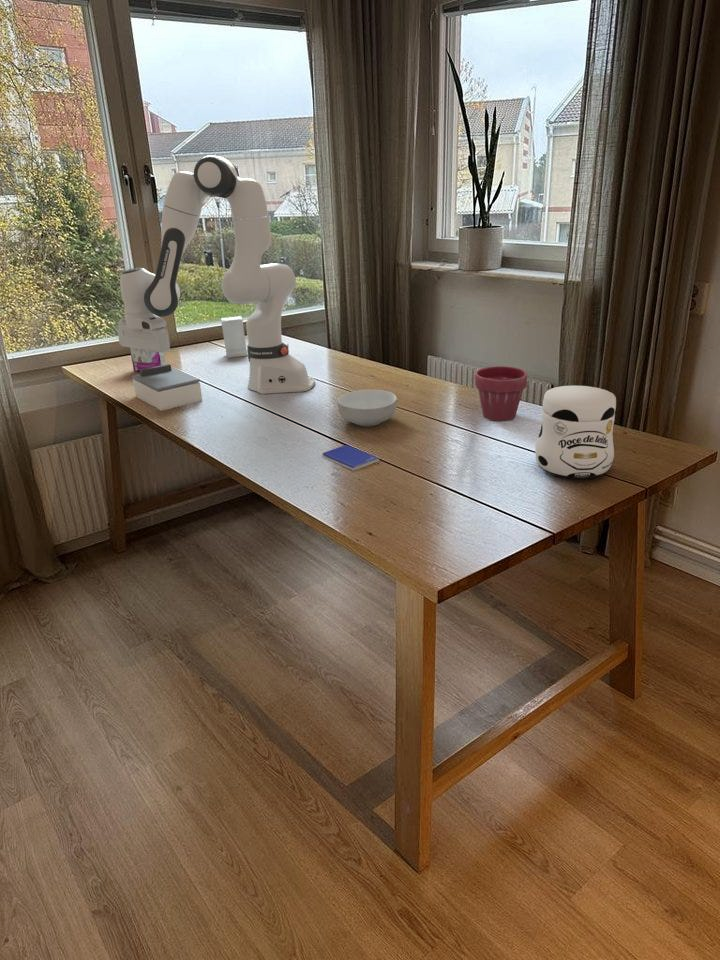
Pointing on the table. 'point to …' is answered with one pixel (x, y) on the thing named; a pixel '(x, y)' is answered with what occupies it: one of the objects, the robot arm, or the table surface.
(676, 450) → the table surface
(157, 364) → the candy bar box
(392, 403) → the cereal bowl
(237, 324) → the skincare box
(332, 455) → the blue book
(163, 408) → the base
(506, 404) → the plant pot
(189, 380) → the grey flat rectangular panel
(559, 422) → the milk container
